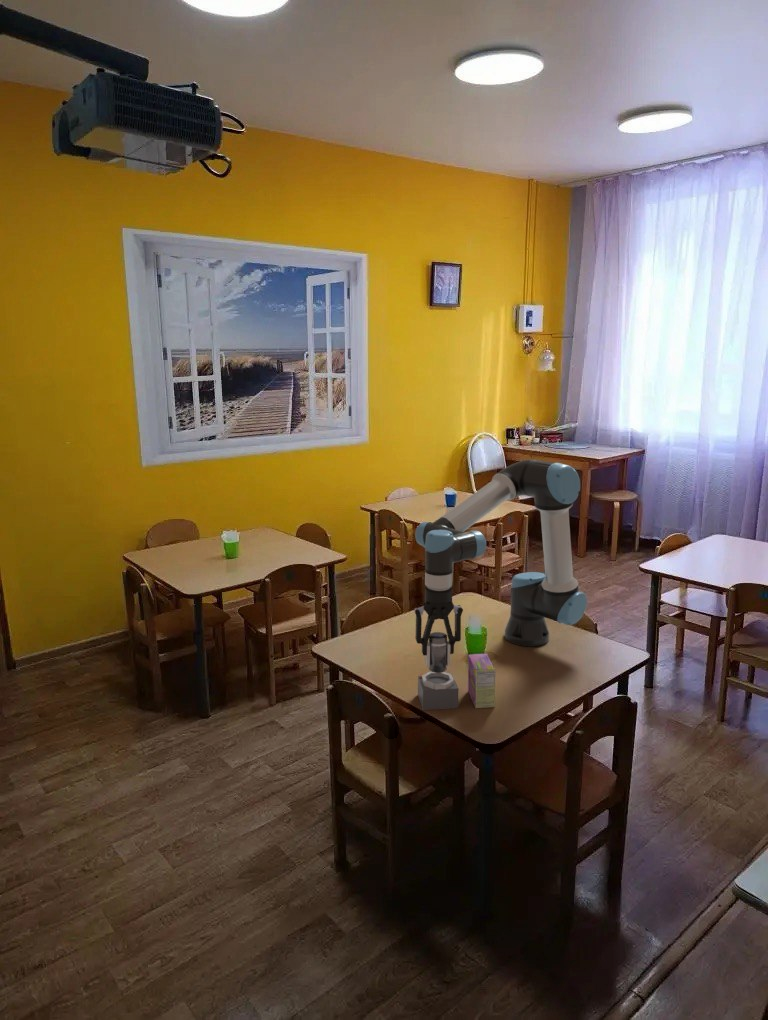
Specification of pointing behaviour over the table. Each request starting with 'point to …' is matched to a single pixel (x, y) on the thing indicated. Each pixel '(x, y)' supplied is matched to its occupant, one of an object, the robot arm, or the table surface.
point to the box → (481, 680)
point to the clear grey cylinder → (438, 652)
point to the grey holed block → (437, 691)
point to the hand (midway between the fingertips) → (437, 664)
